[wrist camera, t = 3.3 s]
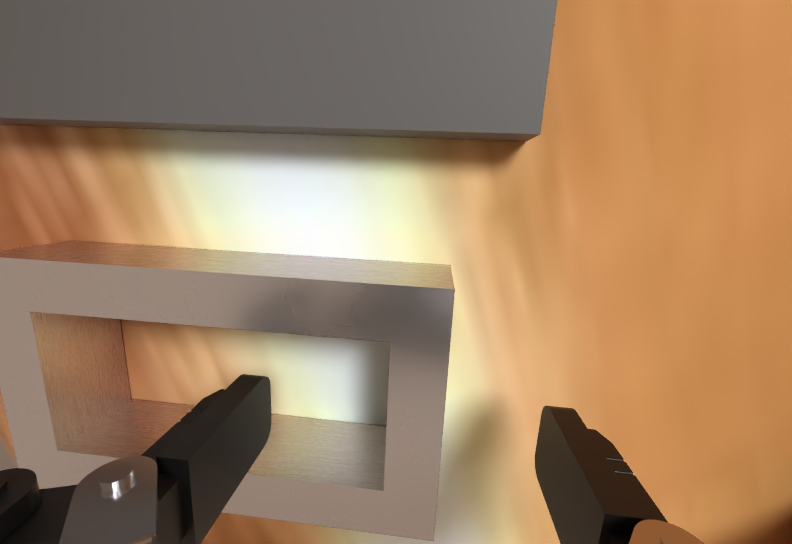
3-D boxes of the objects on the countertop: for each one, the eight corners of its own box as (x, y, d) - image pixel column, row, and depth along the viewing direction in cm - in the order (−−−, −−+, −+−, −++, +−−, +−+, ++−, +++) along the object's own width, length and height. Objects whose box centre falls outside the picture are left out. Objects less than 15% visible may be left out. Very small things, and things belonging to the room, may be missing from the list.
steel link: (450, 265, 12) (454, 289, 9) (434, 468, 14) (433, 540, 11) (69, 240, 14) (-31, 255, 11) (100, 429, 15) (22, 485, 13)
